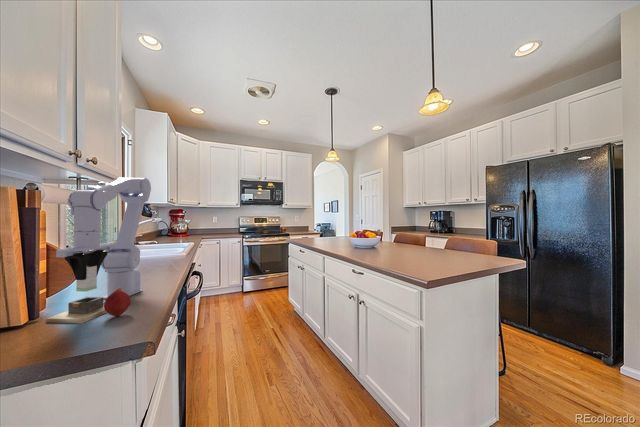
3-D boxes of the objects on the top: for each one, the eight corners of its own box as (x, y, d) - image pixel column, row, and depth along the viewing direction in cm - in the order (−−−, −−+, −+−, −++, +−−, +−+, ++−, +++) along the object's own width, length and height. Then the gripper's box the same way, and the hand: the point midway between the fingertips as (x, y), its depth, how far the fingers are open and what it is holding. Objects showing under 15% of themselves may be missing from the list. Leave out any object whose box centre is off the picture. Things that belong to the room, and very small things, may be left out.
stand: (90, 305, 78) (90, 293, 78) (120, 306, 77) (120, 293, 77) (46, 322, 66) (46, 307, 66) (81, 323, 65) (82, 308, 65)
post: (86, 288, 73) (87, 265, 73) (96, 288, 73) (96, 265, 73) (76, 291, 70) (76, 267, 70) (86, 291, 70) (86, 267, 70)
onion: (115, 321, 66) (115, 291, 66) (98, 319, 67) (98, 290, 67) (135, 313, 72) (135, 285, 72) (119, 311, 73) (119, 284, 73)
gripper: (97, 229, 79) (97, 272, 79) (45, 232, 65) (44, 284, 64) (119, 229, 79) (118, 272, 79) (71, 233, 64) (70, 285, 64)
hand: (86, 278), depth 72 cm, fingers closed on post, 3 cm apart
